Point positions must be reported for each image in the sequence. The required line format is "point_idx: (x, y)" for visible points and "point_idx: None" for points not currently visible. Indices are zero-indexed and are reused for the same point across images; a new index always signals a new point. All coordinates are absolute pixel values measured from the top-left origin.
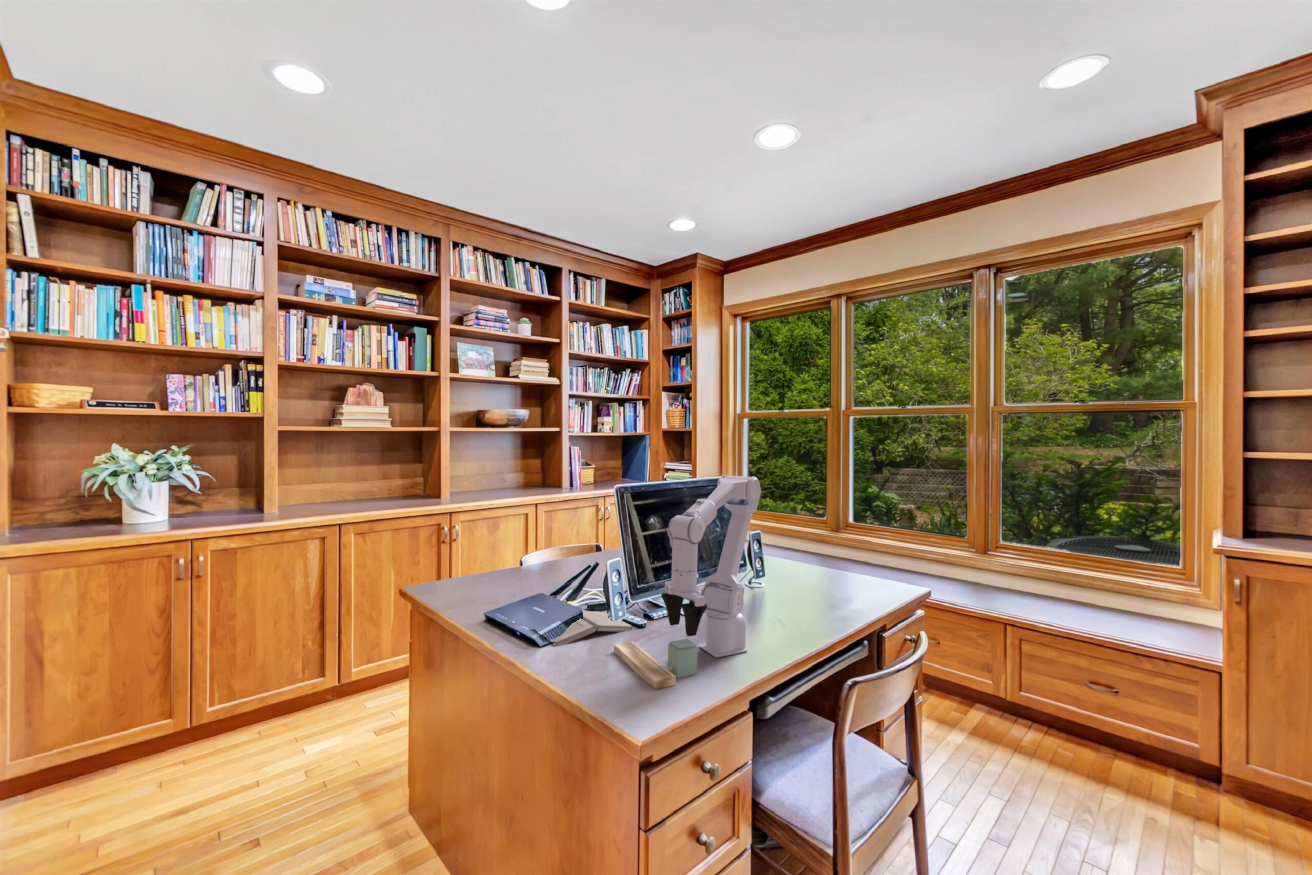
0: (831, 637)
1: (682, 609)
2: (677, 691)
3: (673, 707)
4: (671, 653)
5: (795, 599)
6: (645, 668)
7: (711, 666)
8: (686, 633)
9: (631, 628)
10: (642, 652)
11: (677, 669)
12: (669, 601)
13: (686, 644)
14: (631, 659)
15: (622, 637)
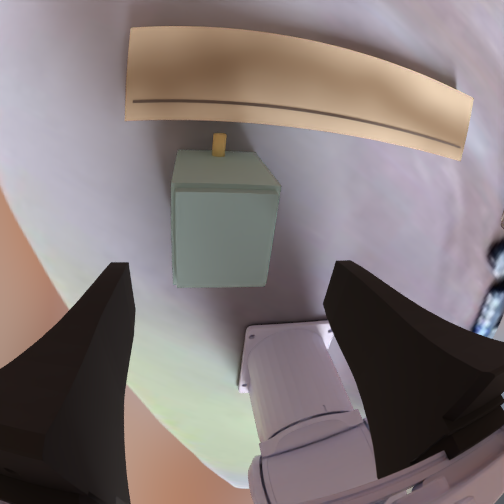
0: (219, 469)
1: (61, 398)
2: (86, 100)
3: (12, 51)
4: (239, 172)
5: None
6: (256, 46)
7: (205, 291)
8: (121, 266)
9: (501, 225)
10: (385, 128)
11: (179, 157)
12: (430, 370)
13: (203, 252)
14: (359, 54)
15: (493, 177)
